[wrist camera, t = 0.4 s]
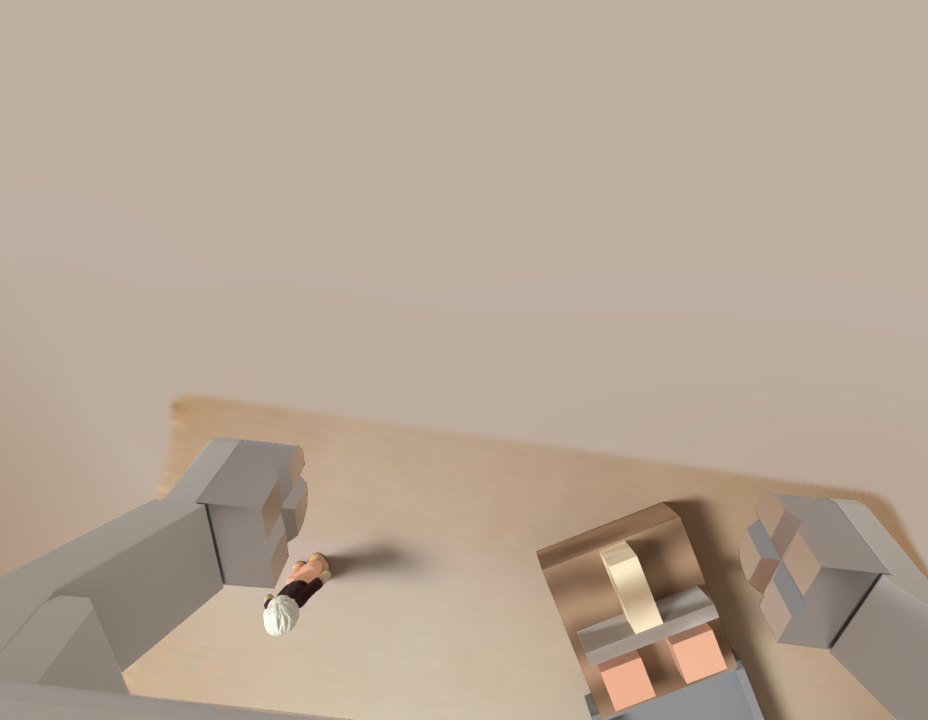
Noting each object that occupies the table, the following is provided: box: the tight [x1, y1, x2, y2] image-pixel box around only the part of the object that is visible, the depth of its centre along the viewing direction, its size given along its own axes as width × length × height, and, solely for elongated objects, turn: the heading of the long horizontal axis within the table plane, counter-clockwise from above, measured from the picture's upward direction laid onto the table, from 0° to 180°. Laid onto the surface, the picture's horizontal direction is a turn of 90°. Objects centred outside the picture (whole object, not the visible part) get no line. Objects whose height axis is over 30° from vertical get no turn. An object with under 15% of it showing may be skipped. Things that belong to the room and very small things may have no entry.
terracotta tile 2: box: [597, 650, 656, 711], centre depth 57 cm, size 4×4×2 cm
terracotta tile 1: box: [666, 623, 727, 684], centre depth 57 cm, size 4×4×2 cm
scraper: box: [577, 541, 719, 667], centre depth 56 cm, size 9×14×4 cm, turn 112°
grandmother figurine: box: [263, 553, 331, 636], centre depth 56 cm, size 8×4×13 cm, turn 125°
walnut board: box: [536, 502, 738, 719], centre depth 60 cm, size 18×16×5 cm
